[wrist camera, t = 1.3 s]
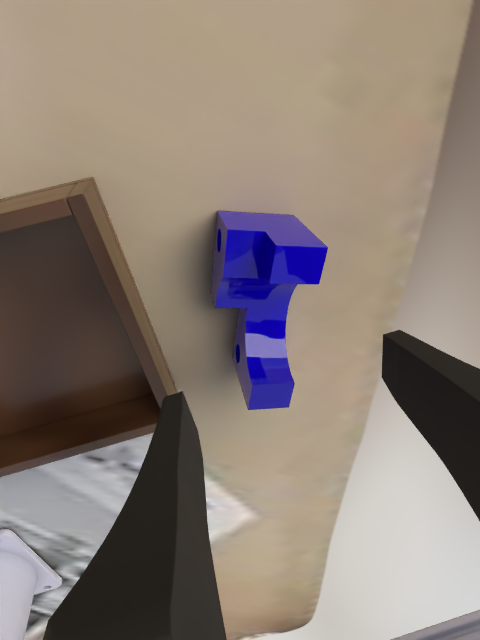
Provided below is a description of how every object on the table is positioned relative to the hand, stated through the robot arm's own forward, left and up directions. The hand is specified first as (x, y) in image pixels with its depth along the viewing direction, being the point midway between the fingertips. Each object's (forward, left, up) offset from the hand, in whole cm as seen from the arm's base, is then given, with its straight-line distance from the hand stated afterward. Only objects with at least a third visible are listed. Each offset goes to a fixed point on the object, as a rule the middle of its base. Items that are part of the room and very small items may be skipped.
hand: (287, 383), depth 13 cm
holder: (-10, +1, -7) cm, 12 cm away
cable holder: (0, 0, -7) cm, 7 cm away
